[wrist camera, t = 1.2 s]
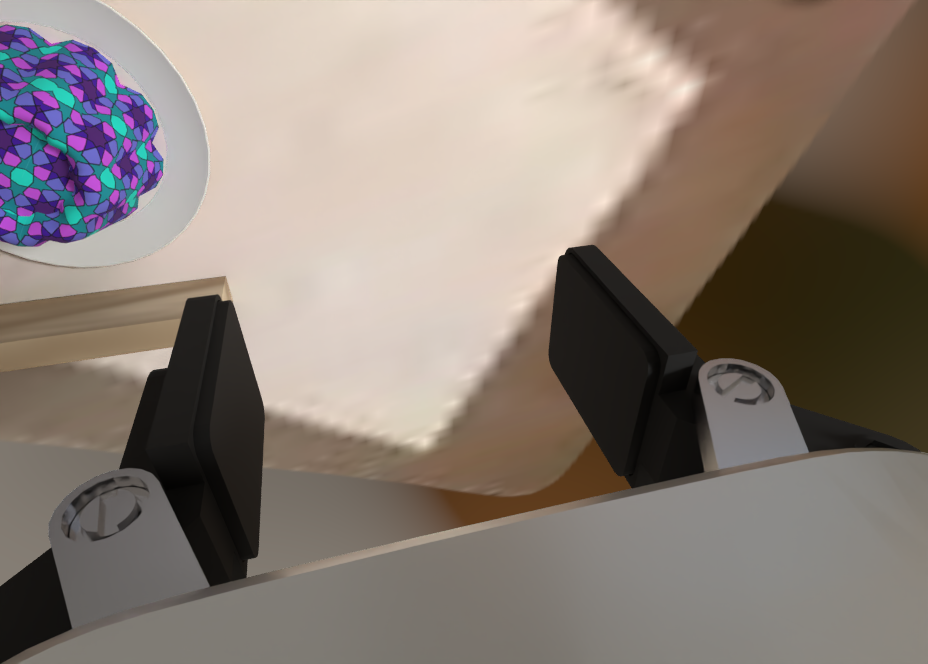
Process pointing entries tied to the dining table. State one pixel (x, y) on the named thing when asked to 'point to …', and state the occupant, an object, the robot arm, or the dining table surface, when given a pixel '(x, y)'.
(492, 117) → the dining table surface
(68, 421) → the dining table surface
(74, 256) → the pudding
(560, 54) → the dining table surface
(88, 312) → the pair of beige bars
